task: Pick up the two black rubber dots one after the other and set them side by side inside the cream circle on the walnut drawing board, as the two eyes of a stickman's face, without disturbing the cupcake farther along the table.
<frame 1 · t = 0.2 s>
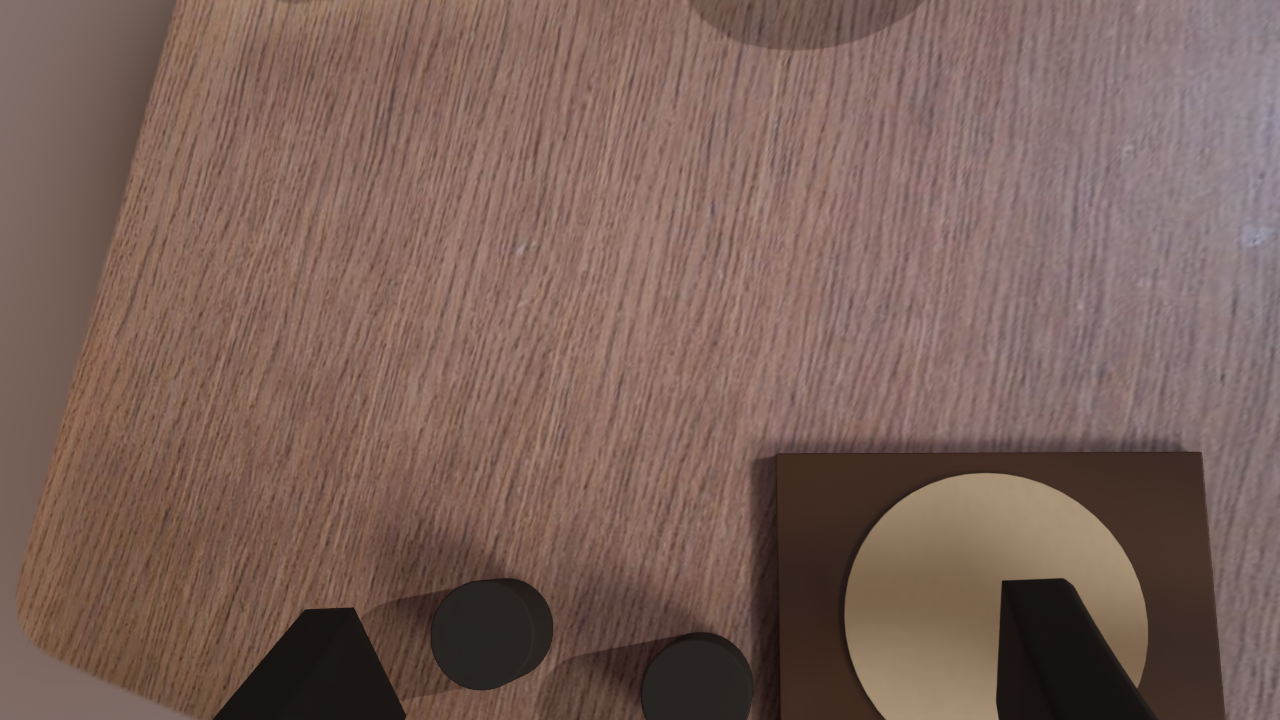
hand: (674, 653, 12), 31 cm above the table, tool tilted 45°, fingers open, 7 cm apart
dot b: (505, 628, 43), on the table
board: (987, 610, 40), on the table
dot a: (702, 684, 41), on the table
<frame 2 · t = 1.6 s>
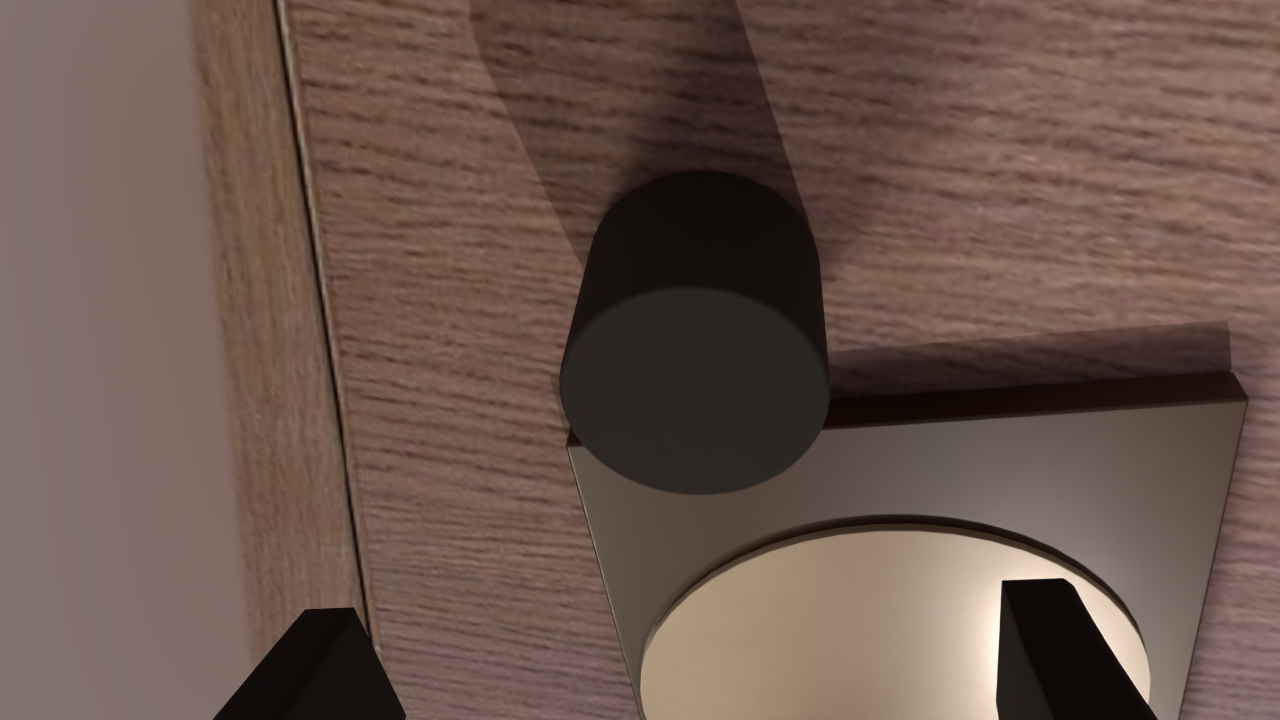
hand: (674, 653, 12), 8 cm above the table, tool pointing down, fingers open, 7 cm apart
board: (895, 667, 24), on the table
dot a: (703, 273, 18), on the table
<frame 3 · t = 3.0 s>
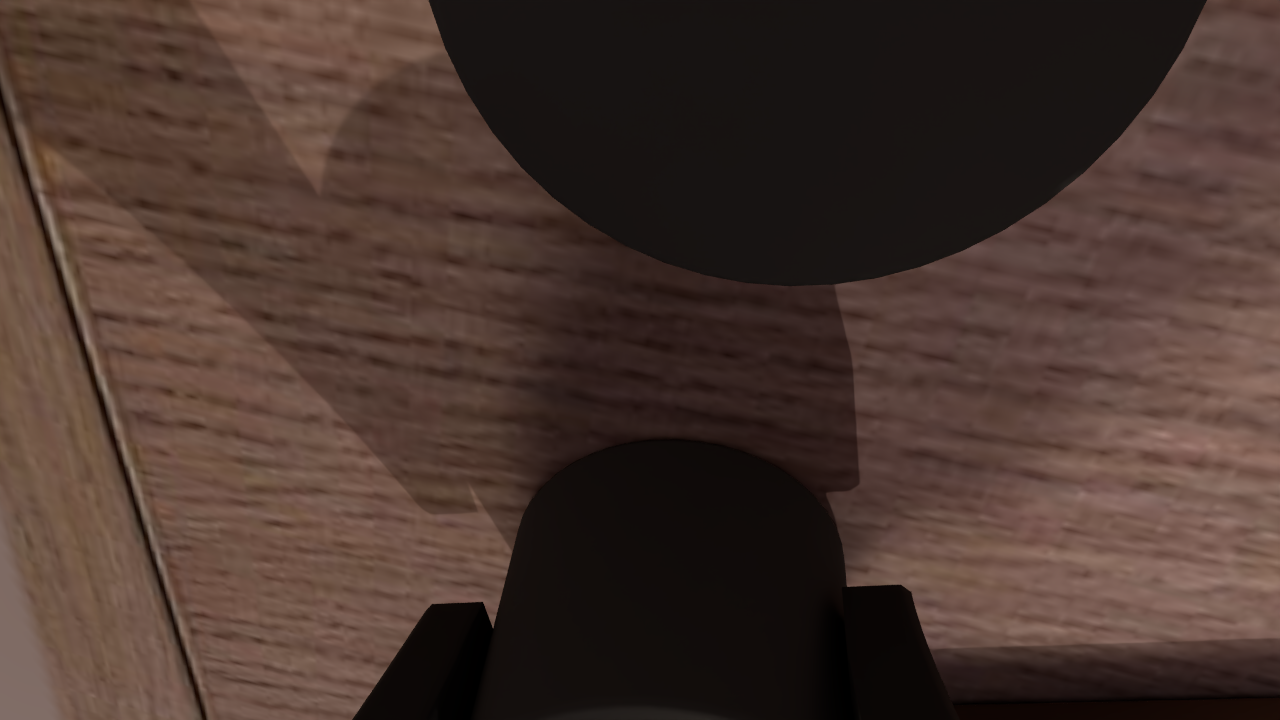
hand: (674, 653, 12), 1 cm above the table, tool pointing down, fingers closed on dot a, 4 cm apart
dot a: (678, 559, 13), on the table, touching gripper
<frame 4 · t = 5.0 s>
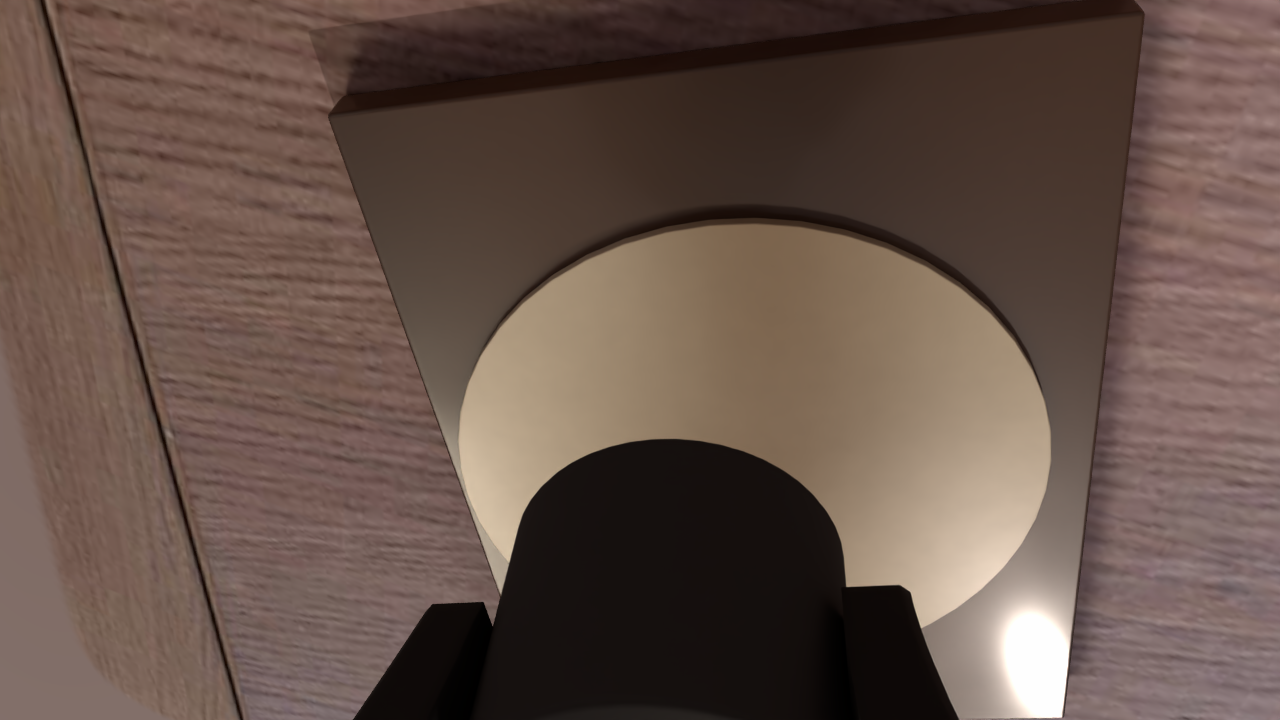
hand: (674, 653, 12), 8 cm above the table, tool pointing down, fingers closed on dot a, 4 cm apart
board: (761, 444, 21), on the table
dot a: (678, 558, 13), point 7 cm above the table, touching gripper
when the fingers open (2 cm above the table, at t = 6.9 s): dot a stays where it is, resting on board.
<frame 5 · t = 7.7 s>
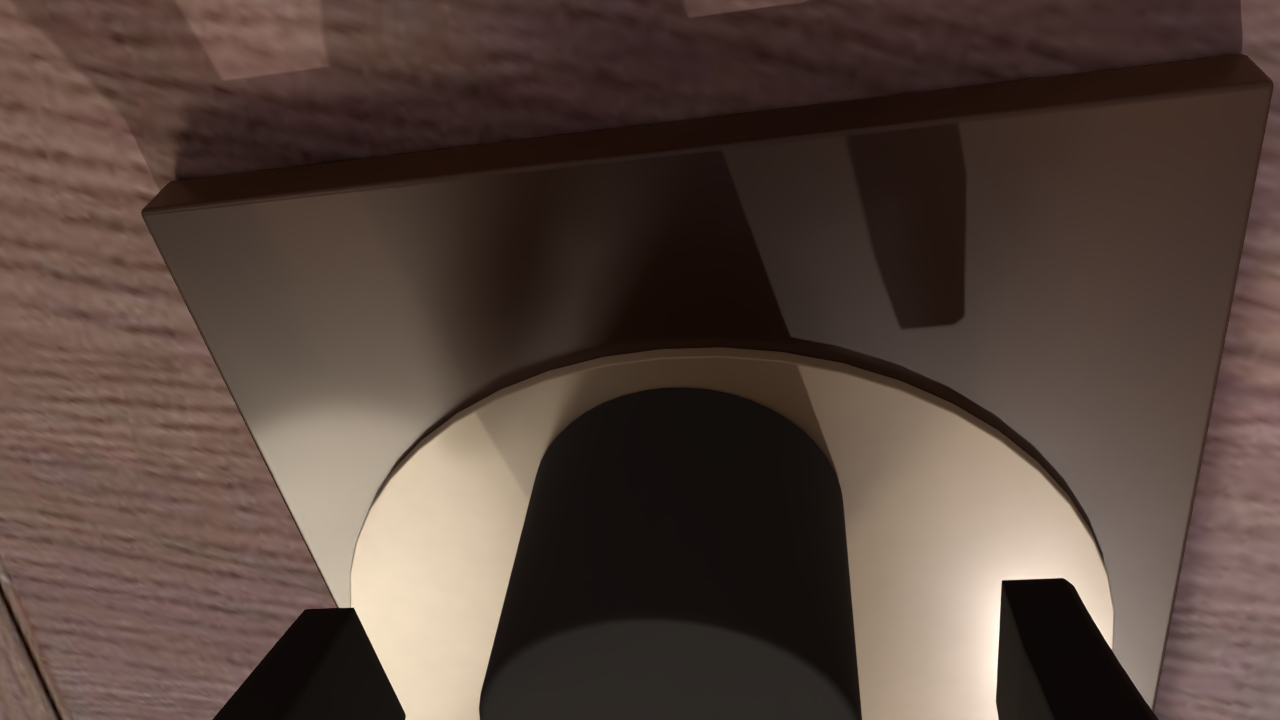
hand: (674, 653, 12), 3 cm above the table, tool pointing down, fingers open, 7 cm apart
board: (739, 603, 16), on the table
dot a: (686, 505, 14), point 1 cm above the table, touching board
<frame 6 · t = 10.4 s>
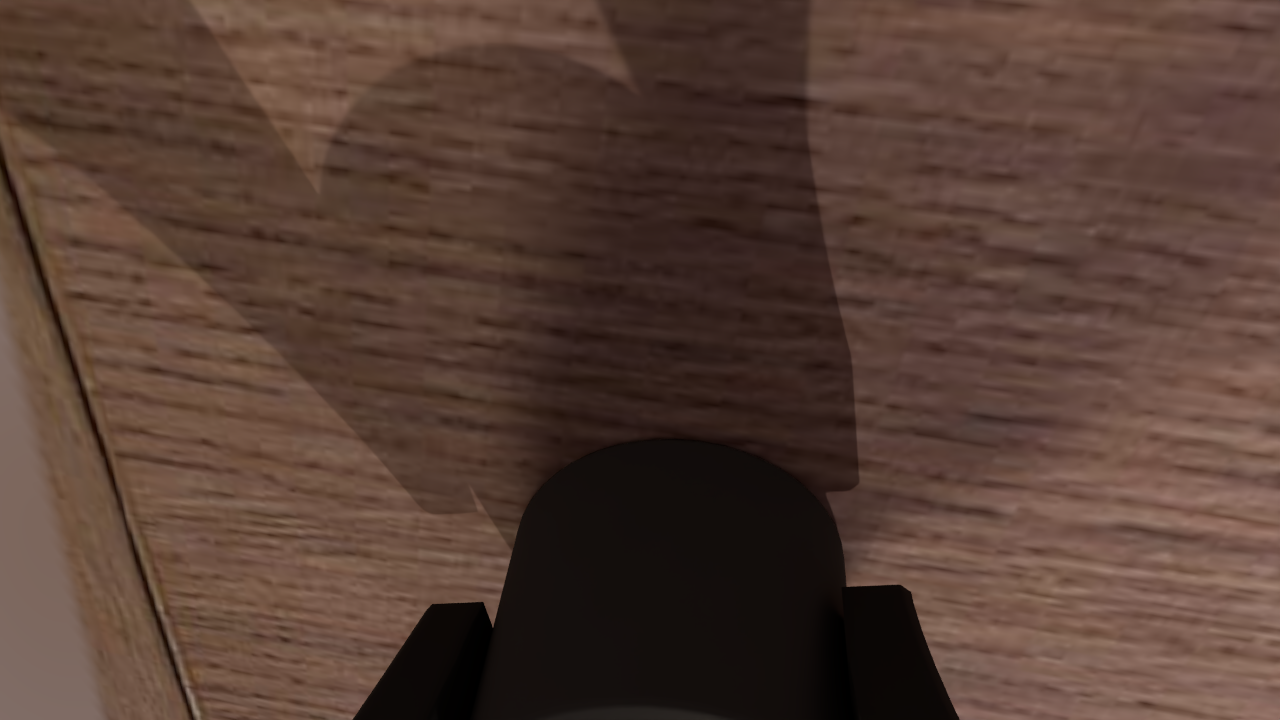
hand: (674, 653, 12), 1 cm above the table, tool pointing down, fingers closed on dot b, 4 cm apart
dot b: (678, 559, 13), on the table, touching gripper
when the fingers open (2 cm above the table, at t = 15.2 s): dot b stays where it is, resting on board.
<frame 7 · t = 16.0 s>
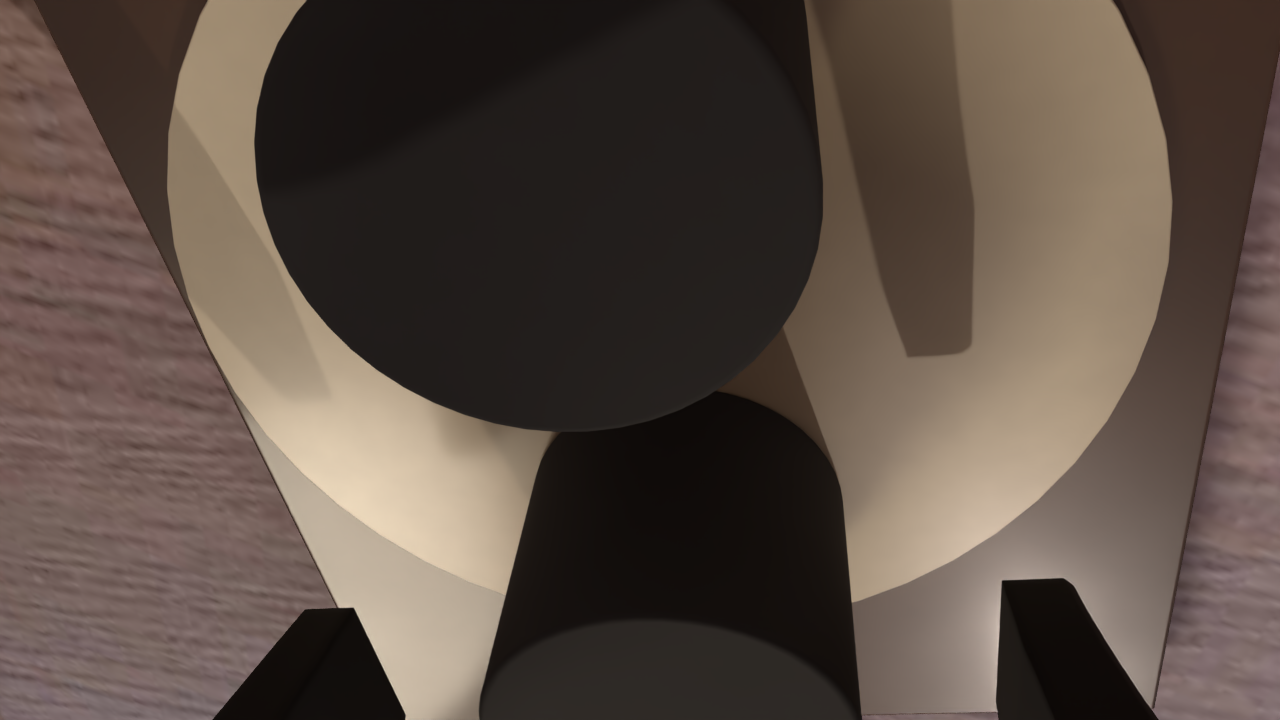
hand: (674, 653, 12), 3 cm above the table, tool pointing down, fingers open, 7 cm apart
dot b: (686, 506, 14), point 1 cm above the table, touching board
board: (682, 260, 13), on the table
dot a: (596, 41, 10), point 1 cm above the table, touching board
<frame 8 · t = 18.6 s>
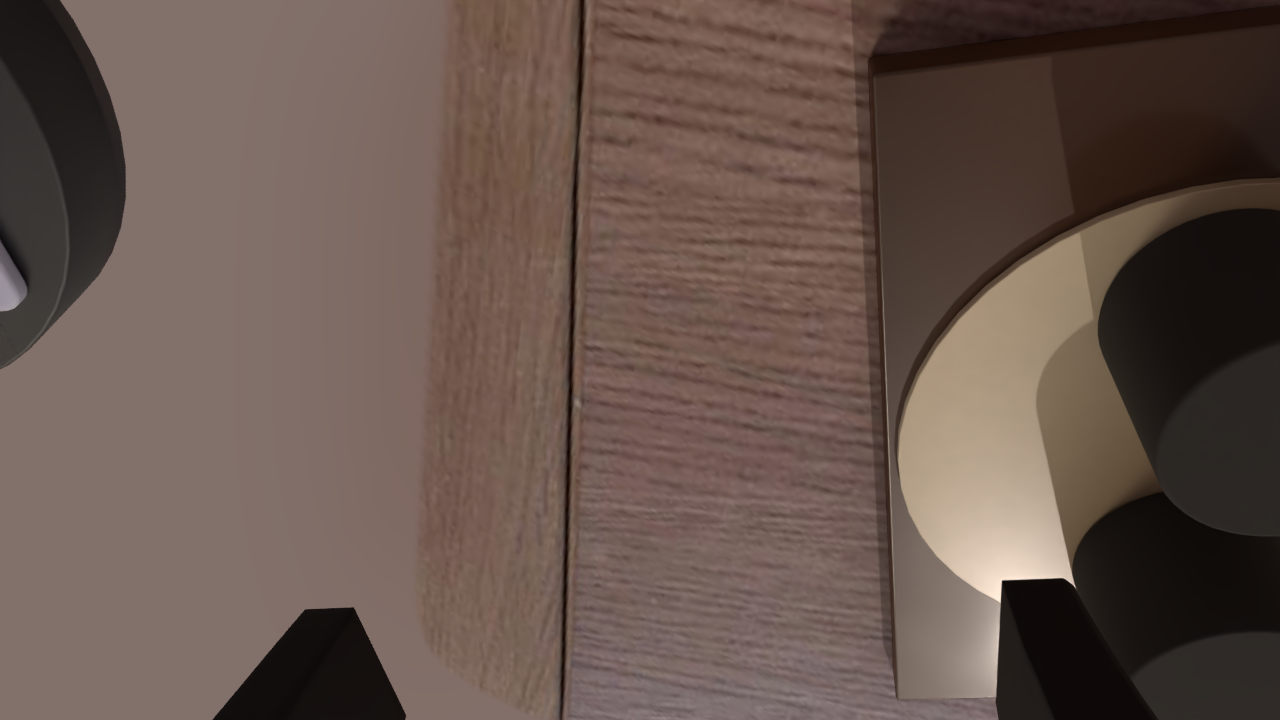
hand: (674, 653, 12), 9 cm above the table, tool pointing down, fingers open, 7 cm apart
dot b: (1173, 557, 22), point 1 cm above the table, touching board
board: (1194, 410, 21), on the table
dot a: (1219, 309, 18), point 1 cm above the table, touching board
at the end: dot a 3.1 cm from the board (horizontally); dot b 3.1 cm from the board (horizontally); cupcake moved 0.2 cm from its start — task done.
